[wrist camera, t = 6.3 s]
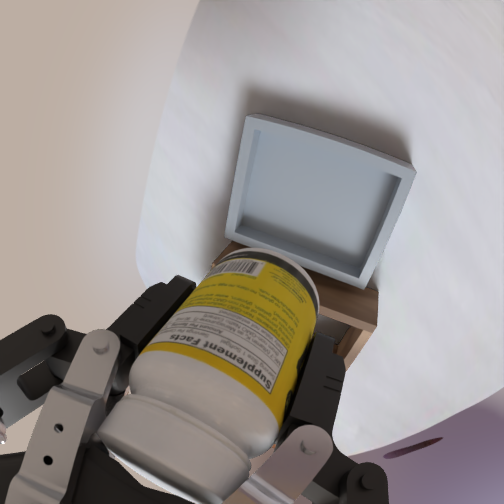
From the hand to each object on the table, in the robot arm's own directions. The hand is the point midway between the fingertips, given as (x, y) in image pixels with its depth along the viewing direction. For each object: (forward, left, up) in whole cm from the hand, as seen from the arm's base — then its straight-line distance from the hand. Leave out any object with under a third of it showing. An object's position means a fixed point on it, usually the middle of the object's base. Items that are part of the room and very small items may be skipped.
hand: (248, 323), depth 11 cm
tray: (0, 0, -15) cm, 15 cm away
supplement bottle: (0, 0, -2) cm, 2 cm away
